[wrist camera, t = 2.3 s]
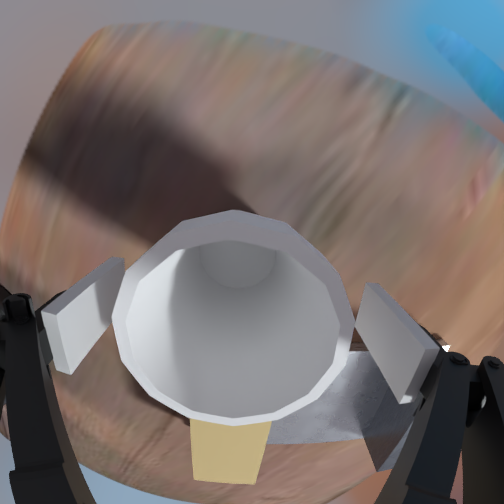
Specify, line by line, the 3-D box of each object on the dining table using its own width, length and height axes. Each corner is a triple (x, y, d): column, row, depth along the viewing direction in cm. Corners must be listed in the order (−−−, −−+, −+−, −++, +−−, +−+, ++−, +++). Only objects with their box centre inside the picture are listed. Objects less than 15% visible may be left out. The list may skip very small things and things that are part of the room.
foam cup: (195, 312, 24) (161, 430, 12) (165, 206, 22) (78, 256, 9) (305, 291, 24) (355, 401, 12) (287, 179, 21) (343, 198, 9)
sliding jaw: (199, 437, 27) (194, 479, 21) (199, 348, 24) (188, 397, 18) (253, 441, 28) (254, 484, 22) (269, 354, 24) (276, 403, 18)
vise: (196, 429, 29) (189, 480, 22) (196, 333, 25) (181, 390, 18) (399, 423, 30) (419, 462, 23) (442, 339, 26) (478, 376, 19)
